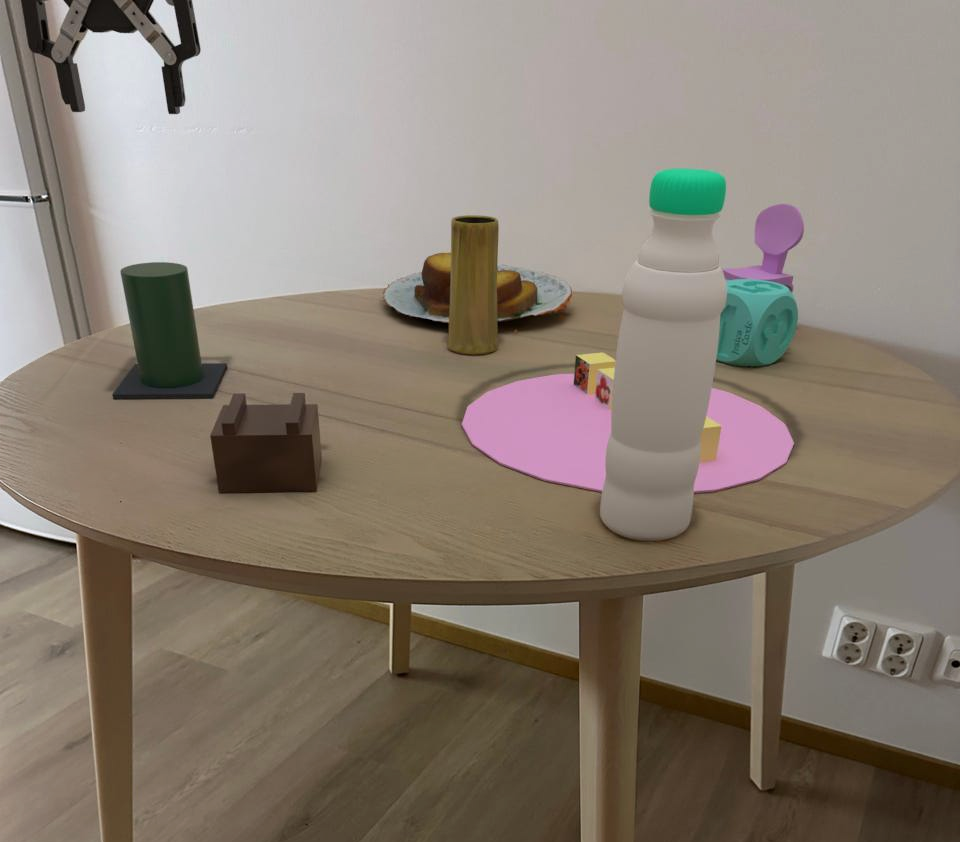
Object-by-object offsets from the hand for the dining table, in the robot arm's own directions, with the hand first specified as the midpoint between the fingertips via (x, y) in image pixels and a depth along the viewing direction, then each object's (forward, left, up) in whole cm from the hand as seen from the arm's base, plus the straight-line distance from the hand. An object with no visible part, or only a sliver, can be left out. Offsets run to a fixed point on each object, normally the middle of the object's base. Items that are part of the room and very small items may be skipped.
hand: (127, 112), depth 84 cm
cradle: (+13, -24, -25) cm, 37 cm away
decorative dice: (+65, +8, -25) cm, 70 cm away
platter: (+46, -14, -25) cm, 54 cm away
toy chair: (+69, +18, -25) cm, 76 cm away
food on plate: (+35, +30, -25) cm, 53 cm away
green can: (0, 0, -19) cm, 19 cm away
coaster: (0, 0, -25) cm, 25 cm away
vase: (+33, +12, -25) cm, 43 cm away
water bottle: (+43, -35, -25) cm, 61 cm away
